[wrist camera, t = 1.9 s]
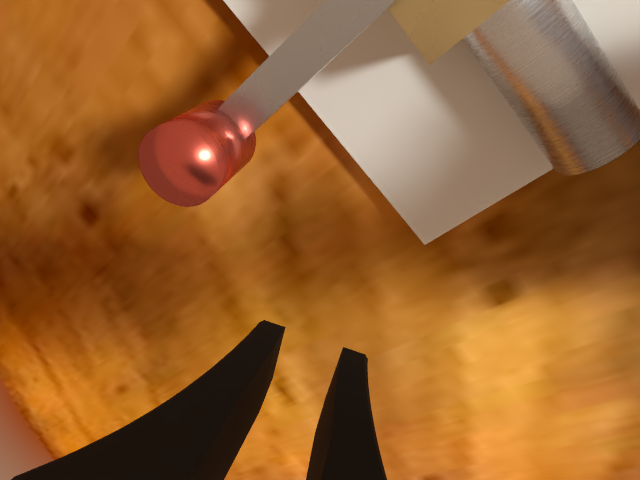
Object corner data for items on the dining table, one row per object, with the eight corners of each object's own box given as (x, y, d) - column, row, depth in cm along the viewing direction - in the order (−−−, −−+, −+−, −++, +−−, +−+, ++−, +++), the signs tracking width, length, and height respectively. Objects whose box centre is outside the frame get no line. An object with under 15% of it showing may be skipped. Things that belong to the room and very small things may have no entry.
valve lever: (469, -180, 10) (478, -233, 8) (528, -85, 11) (554, -106, 8) (174, 130, 16) (123, 159, 13) (224, 183, 16) (183, 221, 14)
